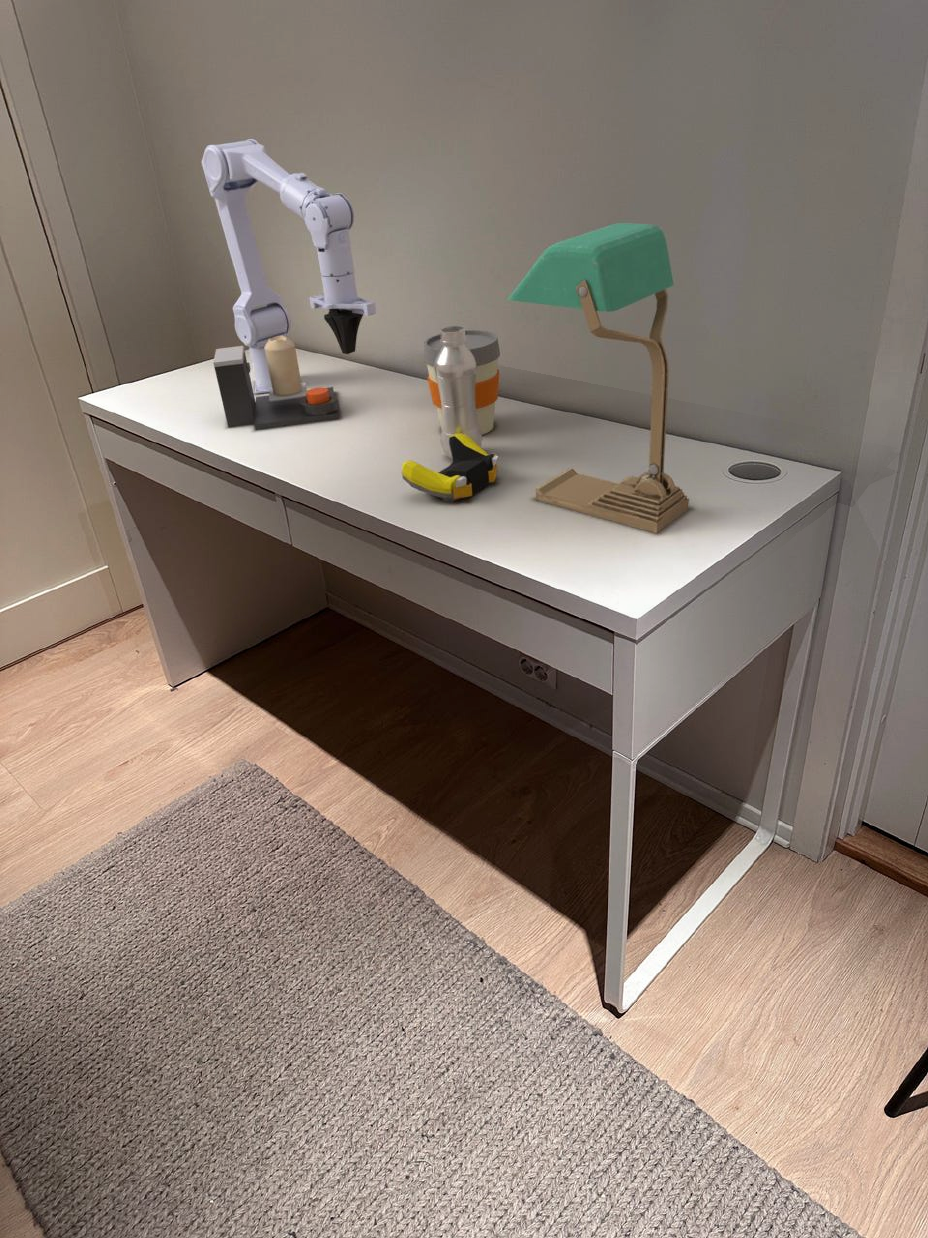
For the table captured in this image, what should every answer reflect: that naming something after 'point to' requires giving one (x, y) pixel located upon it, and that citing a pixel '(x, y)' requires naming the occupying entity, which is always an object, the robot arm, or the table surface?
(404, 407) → the table surface
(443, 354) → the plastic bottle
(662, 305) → the banker's lamp
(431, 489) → the gaming controller
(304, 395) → the tower
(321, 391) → the button
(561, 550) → the table surface
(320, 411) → the grey base plate
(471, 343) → the reusable coffee cup
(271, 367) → the candle
